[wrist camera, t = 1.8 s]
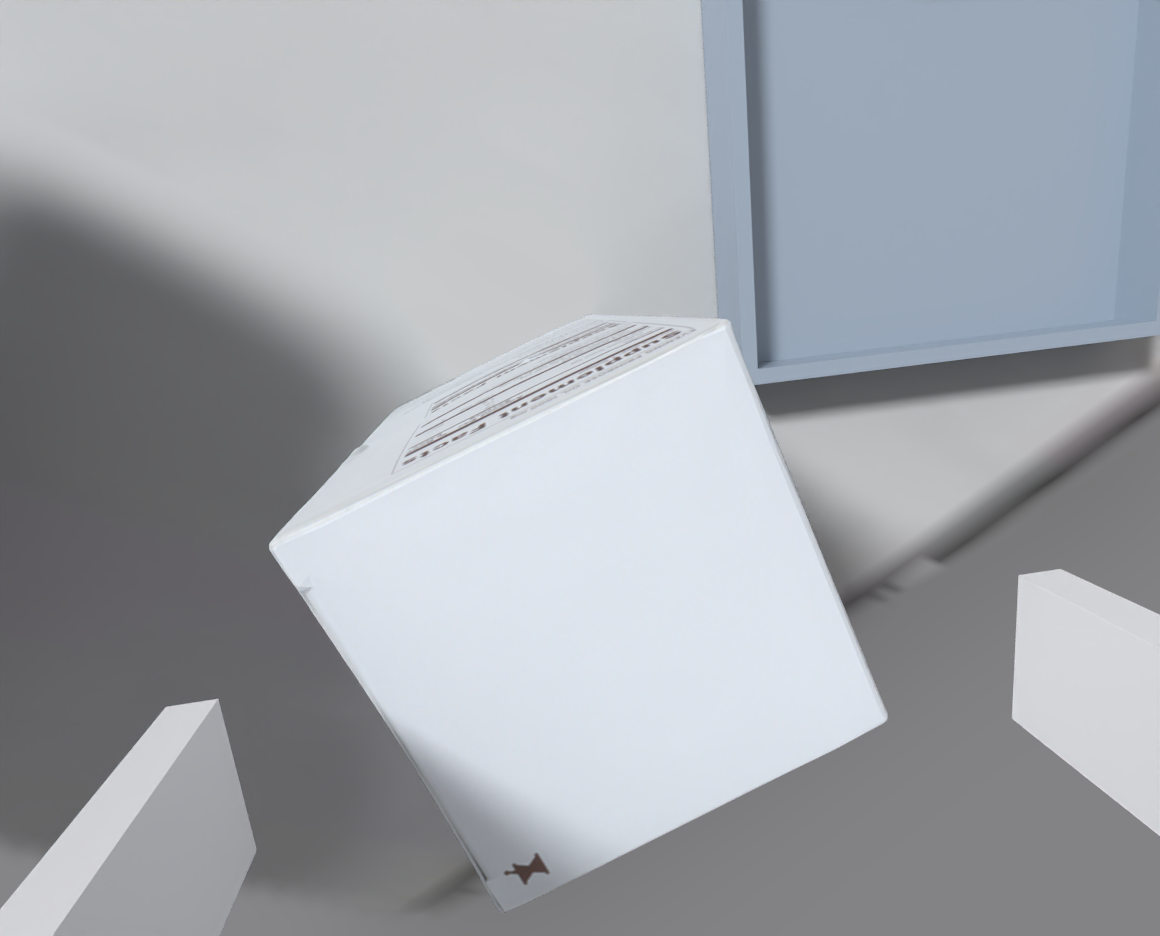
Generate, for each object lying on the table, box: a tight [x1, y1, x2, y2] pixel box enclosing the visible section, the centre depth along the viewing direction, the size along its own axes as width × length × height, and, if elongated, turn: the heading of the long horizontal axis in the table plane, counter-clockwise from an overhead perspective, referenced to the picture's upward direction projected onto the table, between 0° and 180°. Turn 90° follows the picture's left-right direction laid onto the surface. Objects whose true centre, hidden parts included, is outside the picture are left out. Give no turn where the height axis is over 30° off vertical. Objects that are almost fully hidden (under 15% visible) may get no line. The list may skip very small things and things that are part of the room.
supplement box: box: [269, 314, 888, 912], centre depth 21 cm, size 10×9×17 cm
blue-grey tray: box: [701, 0, 1160, 385], centre depth 26 cm, size 18×25×3 cm
